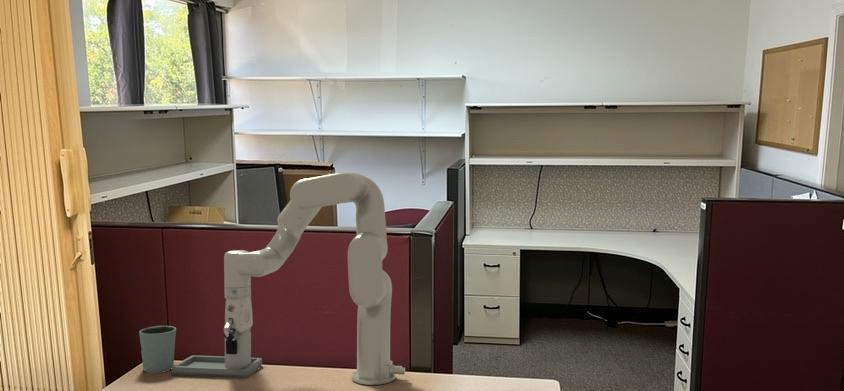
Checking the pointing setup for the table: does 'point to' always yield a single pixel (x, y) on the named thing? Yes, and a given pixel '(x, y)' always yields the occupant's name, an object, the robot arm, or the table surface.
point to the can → (240, 352)
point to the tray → (213, 367)
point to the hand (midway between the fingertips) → (238, 349)
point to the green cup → (157, 348)
